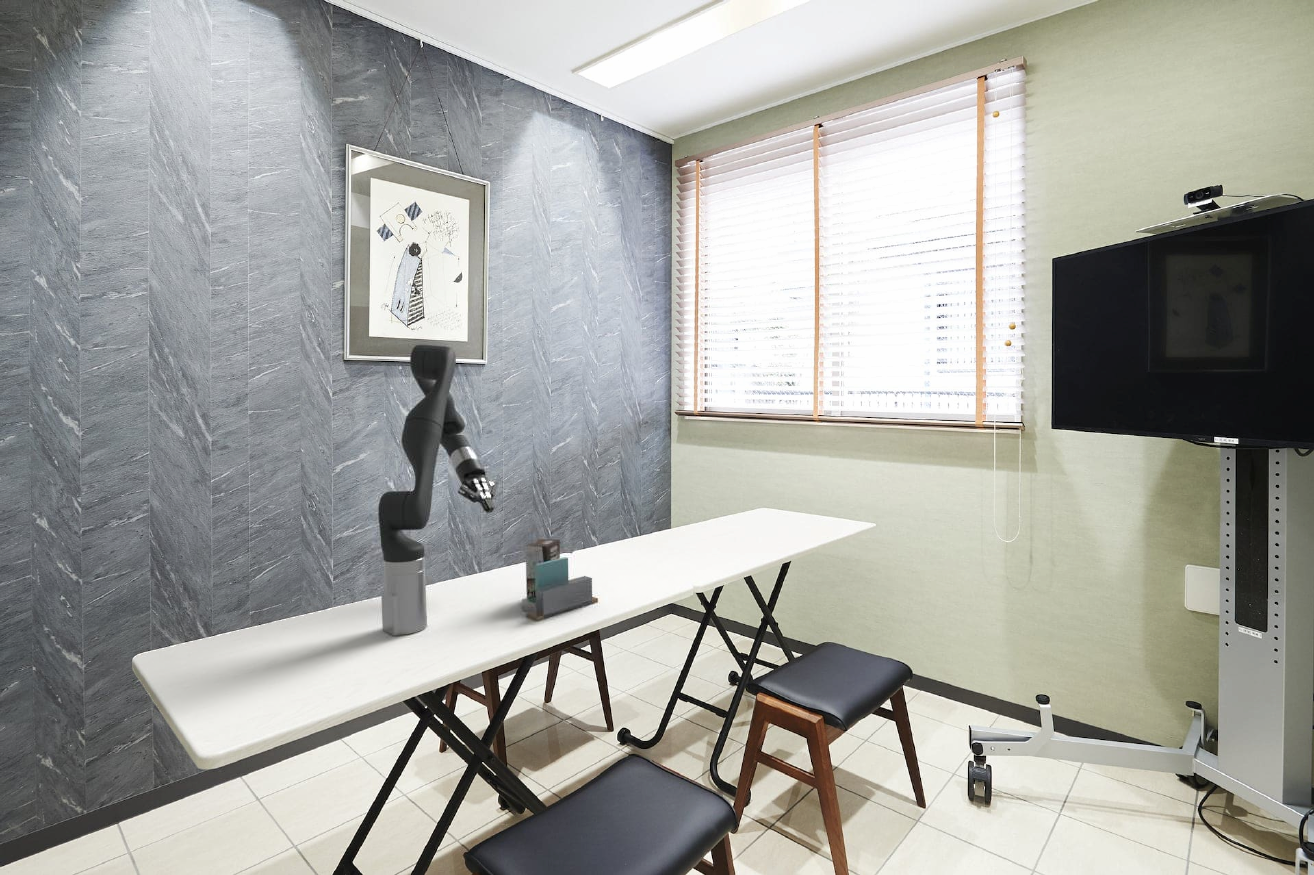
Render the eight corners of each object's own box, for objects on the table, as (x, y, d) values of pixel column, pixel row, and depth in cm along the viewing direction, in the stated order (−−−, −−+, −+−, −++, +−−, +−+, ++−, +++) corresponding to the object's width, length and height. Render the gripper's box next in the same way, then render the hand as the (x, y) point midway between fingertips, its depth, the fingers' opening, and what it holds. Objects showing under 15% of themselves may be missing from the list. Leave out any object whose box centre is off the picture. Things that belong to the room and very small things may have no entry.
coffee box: (548, 606, 172) (546, 546, 171) (525, 605, 173) (524, 545, 172) (562, 596, 180) (560, 539, 179) (540, 594, 182) (539, 538, 181)
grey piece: (537, 621, 160) (536, 593, 160) (514, 612, 167) (514, 586, 167) (598, 602, 175) (597, 576, 175) (575, 594, 181) (574, 570, 181)
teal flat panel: (530, 605, 166) (529, 567, 166) (527, 604, 167) (526, 566, 166) (568, 594, 175) (568, 557, 175) (566, 593, 176) (565, 557, 176)
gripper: (451, 458, 186) (474, 505, 178) (491, 455, 195) (515, 500, 188) (442, 475, 190) (465, 522, 182) (482, 472, 199) (505, 516, 192)
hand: (490, 510), depth 185 cm, fingers closed
